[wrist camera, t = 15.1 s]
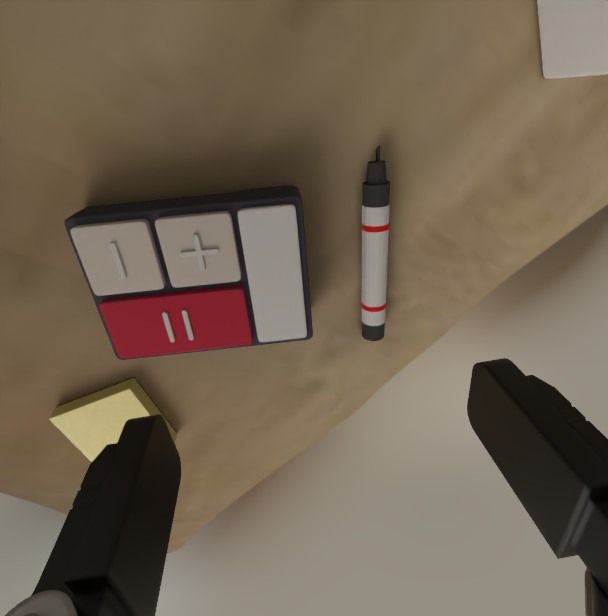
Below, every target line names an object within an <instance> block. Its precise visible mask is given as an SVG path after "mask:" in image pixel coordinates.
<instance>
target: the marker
mask: <svg viewBox="0 0 608 616" xmlns="http://www.w3.org/2000/svg"><path fill="white" fill-rule="evenodd" d="M389 193H390V182H389V181H387V180H386V166H385V161H380V146H378V147H377V149H376V161H370V162H368V169H367V177H366V182H364V183H363V204H362V336H363V338H365V339H367V340H370V341H377V340H381V339H382V338H383V337H384V326H385V313H386V287H387V261H388V235H389V209H390V203H389Z"/></svg>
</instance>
